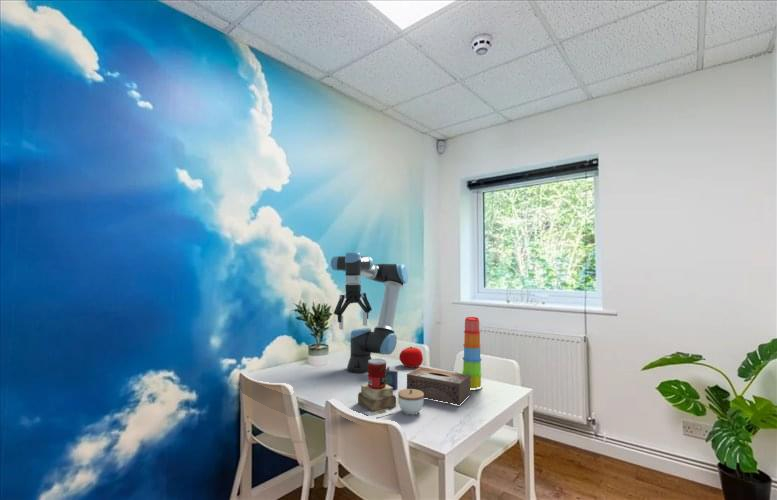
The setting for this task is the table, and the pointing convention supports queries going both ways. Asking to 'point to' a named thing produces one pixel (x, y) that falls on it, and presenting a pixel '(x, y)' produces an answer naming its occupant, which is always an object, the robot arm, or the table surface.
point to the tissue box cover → (440, 384)
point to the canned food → (376, 373)
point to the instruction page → (379, 413)
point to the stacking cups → (472, 352)
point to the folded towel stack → (376, 398)
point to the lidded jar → (410, 400)
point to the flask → (392, 378)
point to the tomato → (411, 357)
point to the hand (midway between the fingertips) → (353, 327)
